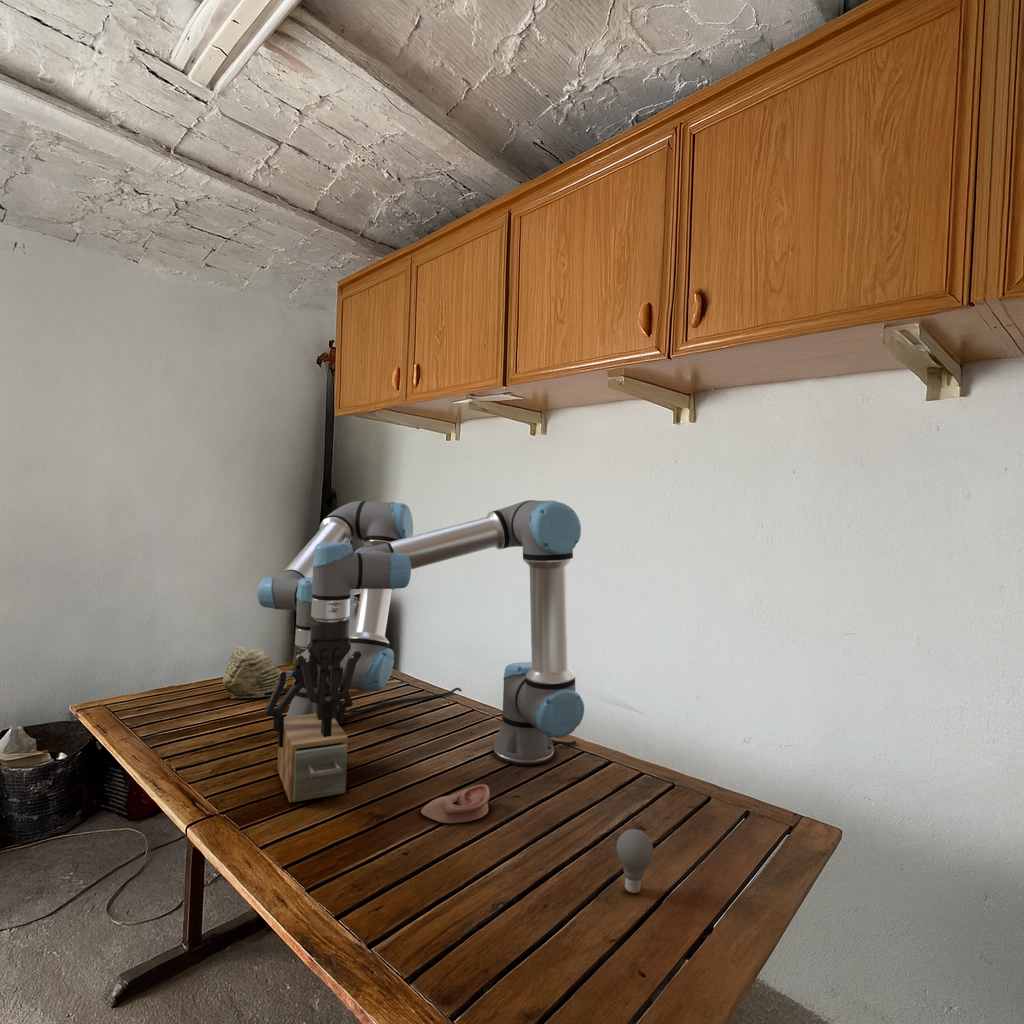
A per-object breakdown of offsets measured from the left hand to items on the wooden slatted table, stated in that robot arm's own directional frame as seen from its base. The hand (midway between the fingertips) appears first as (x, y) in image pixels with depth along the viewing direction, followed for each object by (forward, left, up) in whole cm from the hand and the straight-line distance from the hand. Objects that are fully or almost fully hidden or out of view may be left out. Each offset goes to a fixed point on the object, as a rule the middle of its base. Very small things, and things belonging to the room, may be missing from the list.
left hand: (308, 741), depth 144 cm
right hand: (+7, +16, +8) cm, 19 cm away
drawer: (+4, +8, -7) cm, 11 cm away
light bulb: (-12, +76, -8) cm, 77 cm away
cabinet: (+1, +3, -8) cm, 8 cm away
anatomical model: (-11, +36, -8) cm, 39 cm away
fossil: (-21, -60, -8) cm, 64 cm away
